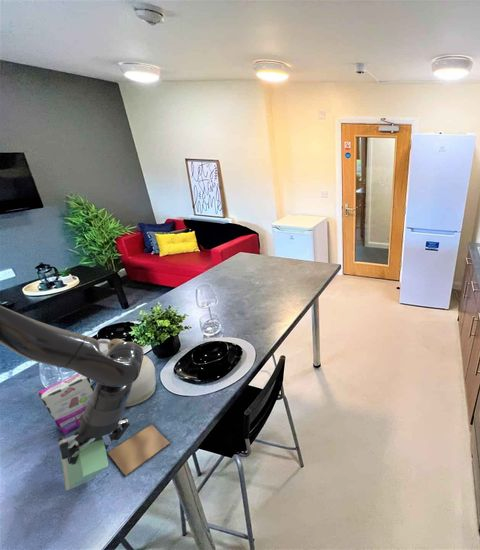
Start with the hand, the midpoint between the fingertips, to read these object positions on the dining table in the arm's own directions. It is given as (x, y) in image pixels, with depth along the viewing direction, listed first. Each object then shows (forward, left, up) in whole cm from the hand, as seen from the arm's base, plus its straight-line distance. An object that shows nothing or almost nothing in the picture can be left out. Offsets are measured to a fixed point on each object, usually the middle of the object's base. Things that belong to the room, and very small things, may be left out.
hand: (87, 455), depth 76 cm
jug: (+19, +27, -11) cm, 35 cm away
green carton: (-2, -2, -5) cm, 6 cm away
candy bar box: (+4, +29, -11) cm, 32 cm away
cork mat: (+10, +2, -11) cm, 15 cm away
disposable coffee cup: (+17, +46, -11) cm, 51 cm away
